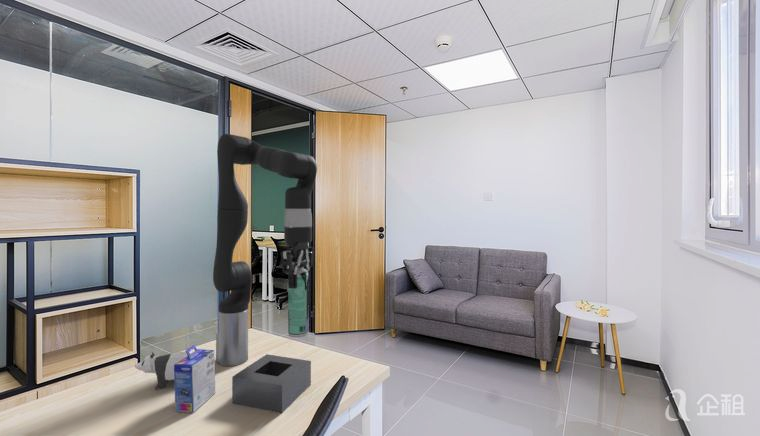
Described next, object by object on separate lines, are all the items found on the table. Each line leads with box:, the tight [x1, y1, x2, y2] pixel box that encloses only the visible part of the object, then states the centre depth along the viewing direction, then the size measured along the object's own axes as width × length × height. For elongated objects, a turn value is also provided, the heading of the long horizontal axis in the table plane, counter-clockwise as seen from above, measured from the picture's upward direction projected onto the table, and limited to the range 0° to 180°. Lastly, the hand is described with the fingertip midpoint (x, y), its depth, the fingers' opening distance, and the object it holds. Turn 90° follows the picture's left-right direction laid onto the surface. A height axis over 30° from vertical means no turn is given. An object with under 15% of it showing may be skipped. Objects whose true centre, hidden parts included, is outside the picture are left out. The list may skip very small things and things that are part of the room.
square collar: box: [231, 354, 312, 414], centre depth 96 cm, size 15×15×7 cm
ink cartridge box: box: [173, 344, 216, 414], centre depth 91 cm, size 10×6×14 cm, turn 174°
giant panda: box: [134, 351, 191, 390], centre depth 100 cm, size 15×6×10 cm, turn 111°
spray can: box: [287, 262, 310, 338], centre depth 96 cm, size 6×6×20 cm
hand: (298, 285), depth 96 cm, fingers closed on spray can, 5 cm apart
